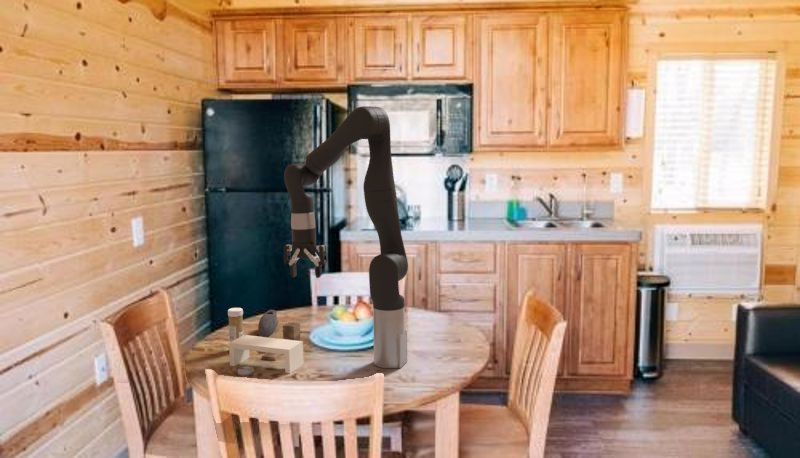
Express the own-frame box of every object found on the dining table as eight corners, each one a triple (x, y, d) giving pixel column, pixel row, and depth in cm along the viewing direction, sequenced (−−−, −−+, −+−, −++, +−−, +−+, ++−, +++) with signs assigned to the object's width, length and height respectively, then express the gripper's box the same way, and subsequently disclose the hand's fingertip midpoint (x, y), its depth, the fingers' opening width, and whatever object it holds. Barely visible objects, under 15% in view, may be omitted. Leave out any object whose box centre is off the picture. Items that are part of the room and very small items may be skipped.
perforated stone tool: (268, 341, 208) (267, 320, 207) (252, 340, 208) (252, 320, 208) (281, 327, 223) (280, 308, 222) (266, 327, 223) (265, 308, 222)
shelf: (303, 364, 186) (302, 341, 185) (290, 373, 178) (289, 349, 178) (245, 356, 193) (244, 334, 192) (230, 365, 185) (228, 342, 184)
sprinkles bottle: (246, 350, 198) (244, 309, 196) (232, 353, 196) (230, 311, 194) (241, 347, 202) (239, 306, 200) (227, 349, 199) (225, 308, 198)
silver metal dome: (257, 372, 180) (256, 367, 180) (247, 377, 176) (247, 372, 176) (244, 370, 182) (244, 365, 182) (234, 375, 178) (234, 370, 178)
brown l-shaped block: (301, 344, 205) (300, 323, 204) (274, 360, 189) (273, 338, 188) (289, 342, 206) (288, 322, 205) (262, 359, 191) (261, 336, 190)
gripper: (329, 225, 200) (331, 275, 202) (289, 225, 205) (292, 274, 207) (318, 228, 193) (321, 280, 195) (277, 228, 198) (280, 278, 200)
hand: (306, 277), depth 201 cm, fingers open, 8 cm apart
